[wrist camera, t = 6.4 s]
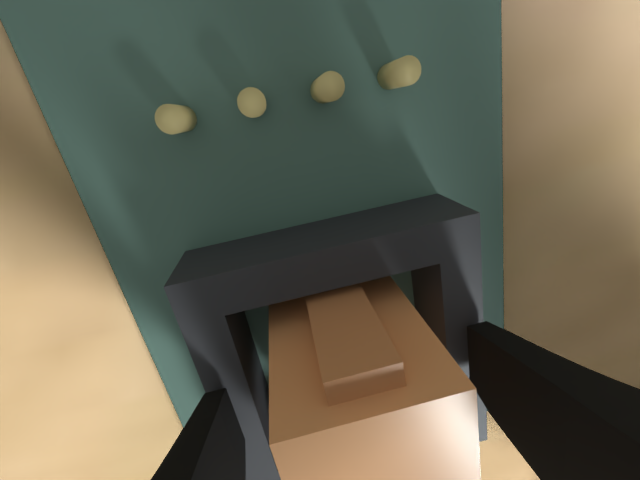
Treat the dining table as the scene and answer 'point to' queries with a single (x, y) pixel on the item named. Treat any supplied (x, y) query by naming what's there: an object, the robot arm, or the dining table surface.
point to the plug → (366, 391)
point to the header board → (276, 167)
